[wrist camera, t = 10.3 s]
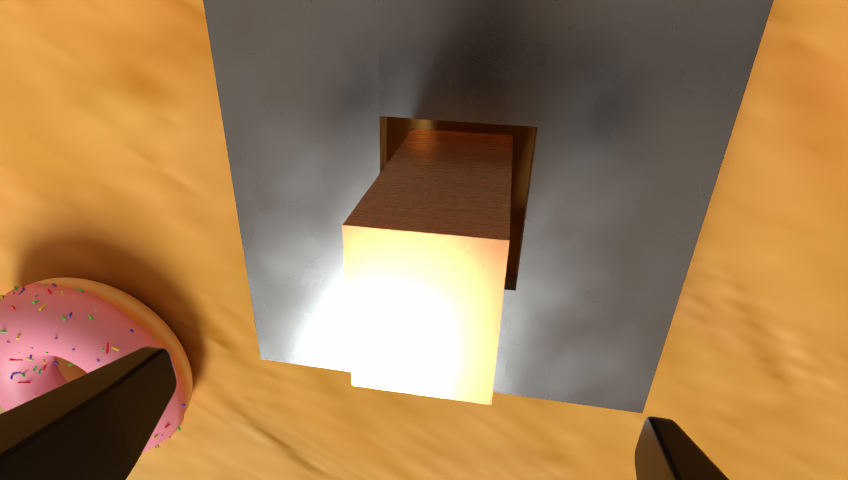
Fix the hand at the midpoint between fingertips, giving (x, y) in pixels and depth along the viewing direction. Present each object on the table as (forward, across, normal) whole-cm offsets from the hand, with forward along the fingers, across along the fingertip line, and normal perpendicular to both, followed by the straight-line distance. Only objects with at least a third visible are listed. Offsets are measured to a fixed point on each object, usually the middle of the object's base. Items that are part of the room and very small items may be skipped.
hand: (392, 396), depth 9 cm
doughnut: (+12, +19, +12) cm, 25 cm away
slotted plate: (+12, 0, 0) cm, 12 cm away
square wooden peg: (+12, 0, 0) cm, 12 cm away
